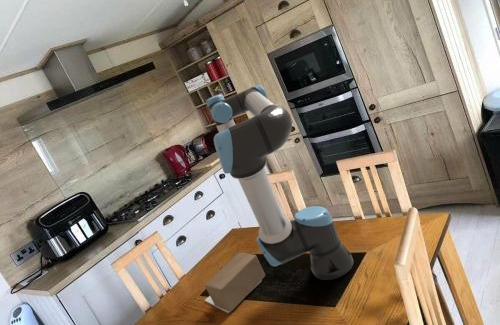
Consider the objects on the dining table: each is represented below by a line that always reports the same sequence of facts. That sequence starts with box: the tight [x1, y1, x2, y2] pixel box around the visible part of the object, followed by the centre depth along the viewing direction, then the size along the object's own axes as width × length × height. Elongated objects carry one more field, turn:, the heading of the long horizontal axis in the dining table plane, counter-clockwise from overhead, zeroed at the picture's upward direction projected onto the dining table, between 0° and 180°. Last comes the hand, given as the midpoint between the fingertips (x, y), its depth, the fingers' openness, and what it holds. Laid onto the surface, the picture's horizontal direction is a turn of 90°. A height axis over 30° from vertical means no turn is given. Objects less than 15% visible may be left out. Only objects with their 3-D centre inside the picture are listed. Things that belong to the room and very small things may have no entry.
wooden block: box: [204, 252, 266, 312], centre depth 140 cm, size 10×10×20 cm
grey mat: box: [204, 279, 263, 314], centre depth 144 cm, size 16×18×1 cm
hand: (248, 176), depth 159 cm, fingers open, 13 cm apart
